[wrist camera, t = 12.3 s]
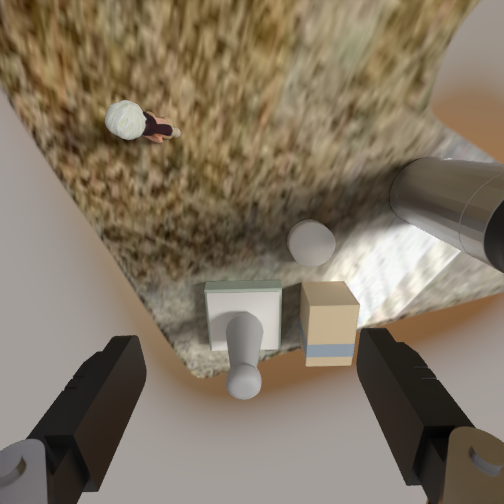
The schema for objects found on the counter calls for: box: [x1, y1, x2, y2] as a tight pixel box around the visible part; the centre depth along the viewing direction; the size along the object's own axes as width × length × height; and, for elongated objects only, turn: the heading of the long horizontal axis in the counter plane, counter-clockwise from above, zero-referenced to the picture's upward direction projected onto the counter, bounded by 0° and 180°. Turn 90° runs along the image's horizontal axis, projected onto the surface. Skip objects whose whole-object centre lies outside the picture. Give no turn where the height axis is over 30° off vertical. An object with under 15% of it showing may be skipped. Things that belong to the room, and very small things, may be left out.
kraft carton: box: [299, 281, 360, 366], centre depth 44 cm, size 7×11×7 cm, turn 1°
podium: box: [204, 280, 282, 351], centre depth 46 cm, size 12×12×3 cm
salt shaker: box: [226, 311, 264, 399], centre depth 38 cm, size 6×6×13 cm
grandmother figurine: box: [105, 100, 181, 143], centre depth 30 cm, size 8×4×13 cm, turn 84°
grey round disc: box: [287, 219, 335, 267], centre depth 40 cm, size 6×6×3 cm
